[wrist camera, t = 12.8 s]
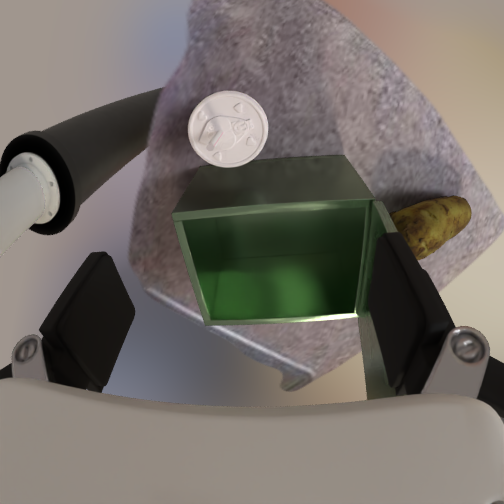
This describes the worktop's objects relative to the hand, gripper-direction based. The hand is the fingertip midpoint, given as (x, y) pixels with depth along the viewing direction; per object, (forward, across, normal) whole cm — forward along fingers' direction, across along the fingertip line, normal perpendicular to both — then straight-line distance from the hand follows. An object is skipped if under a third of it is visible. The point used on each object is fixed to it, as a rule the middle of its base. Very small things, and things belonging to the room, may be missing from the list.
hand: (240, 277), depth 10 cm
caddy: (+25, -1, +11) cm, 28 cm away
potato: (+26, -20, +12) cm, 34 cm away
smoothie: (+26, +2, -2) cm, 26 cm away
